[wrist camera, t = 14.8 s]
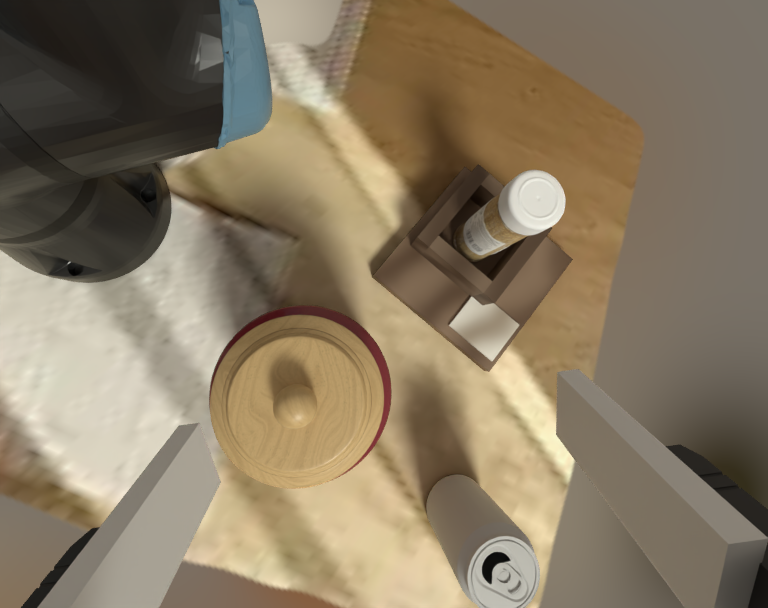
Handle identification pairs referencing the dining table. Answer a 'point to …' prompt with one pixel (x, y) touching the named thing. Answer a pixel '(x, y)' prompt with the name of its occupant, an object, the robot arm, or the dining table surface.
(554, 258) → the spice caddy
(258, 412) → the canister
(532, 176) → the sprinkles bottle
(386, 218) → the dining table surface
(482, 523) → the beverage can
